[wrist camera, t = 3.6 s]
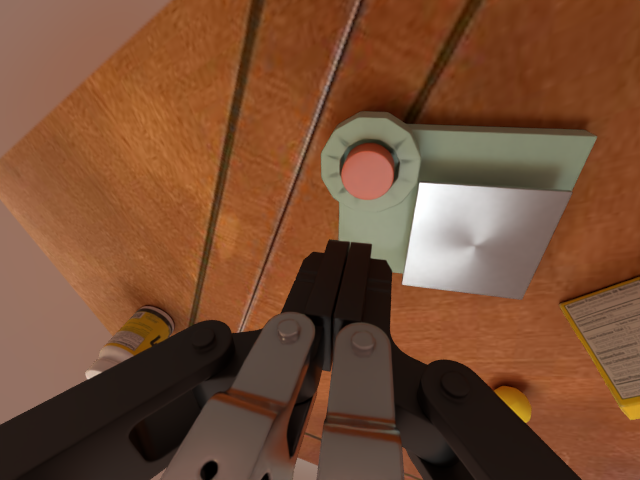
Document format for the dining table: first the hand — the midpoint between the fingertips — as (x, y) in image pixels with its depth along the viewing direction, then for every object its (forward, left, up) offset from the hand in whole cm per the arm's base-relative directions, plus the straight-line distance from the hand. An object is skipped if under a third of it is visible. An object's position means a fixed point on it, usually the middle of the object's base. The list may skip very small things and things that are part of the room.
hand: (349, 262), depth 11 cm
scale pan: (+7, -4, -9) cm, 12 cm away
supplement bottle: (-24, -21, -13) cm, 35 cm away
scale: (+5, -3, -12) cm, 14 cm away
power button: (0, 0, -10) cm, 10 cm away
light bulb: (+15, -24, -13) cm, 31 cm away
